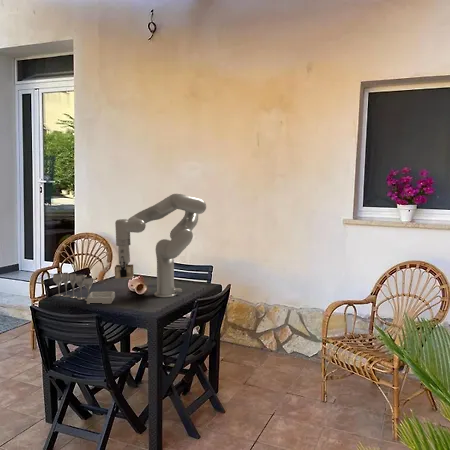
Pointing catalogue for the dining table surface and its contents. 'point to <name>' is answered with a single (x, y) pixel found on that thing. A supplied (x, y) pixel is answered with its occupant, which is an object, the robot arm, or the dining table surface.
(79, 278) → the goblet set
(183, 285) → the dining table surface
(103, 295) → the grey square tray
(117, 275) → the small crate
